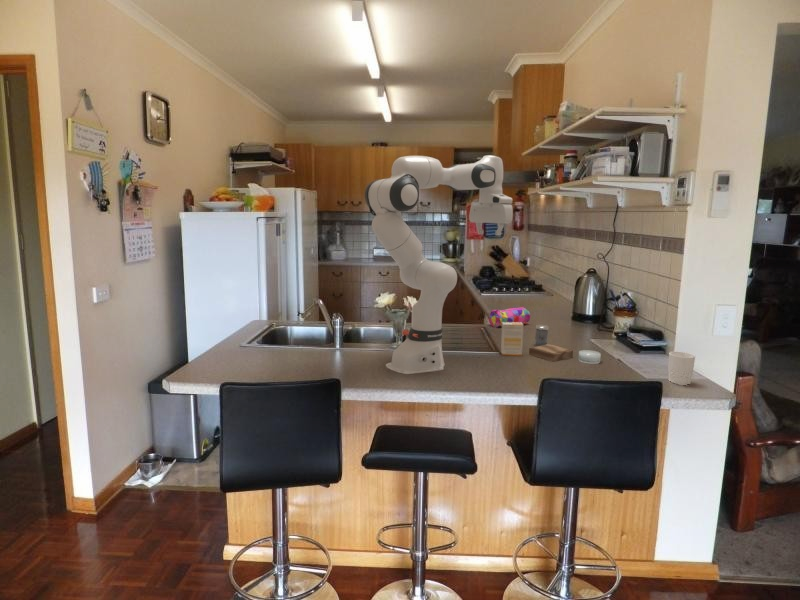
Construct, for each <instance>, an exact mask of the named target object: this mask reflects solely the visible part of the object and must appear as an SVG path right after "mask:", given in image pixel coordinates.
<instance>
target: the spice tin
mask: <svg viewBox="0 0 800 600" xmlns="http://www.w3.org/2000/svg"><path fill="white" fill-rule="evenodd" d="M549 327H550V326H549V325H545V324H536V325H535V341H534V347H537V346H542V345H546V344H548V338H549V336H548V335H549V329H550V328H549Z"/></svg>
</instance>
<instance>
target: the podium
mask: <svg viewBox="0 0 800 600" xmlns="http://www.w3.org/2000/svg"><path fill="white" fill-rule="evenodd" d="M528 350H529V351H528V355H529V356H531V357H536V358H539V359H543V360H545V361H546V360H547V361H550V362H554V363H555V362H558V361H563V360H567V359H571V358H573V355H574V350H573V349H569V348H565V347H562V346H557V345H553V344H549V343H547V344H546V345H542V346H537V347H536V346H534V347H529V348H528Z"/></svg>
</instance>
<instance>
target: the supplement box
mask: <svg viewBox="0 0 800 600" xmlns="http://www.w3.org/2000/svg"><path fill="white" fill-rule="evenodd" d="M500 338H501V339H500V353H501V355H503V356H523V346H524V345H523V344H524V343H523V342H524V324H522V322H502V326H501V337H500Z"/></svg>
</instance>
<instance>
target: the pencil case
mask: <svg viewBox="0 0 800 600" xmlns="http://www.w3.org/2000/svg"><path fill="white" fill-rule="evenodd" d="M530 320H531V313H530V311H529V310H528V309H526V307H522V306H521V307H514V308H513V307H511V308H506V309H492V310H491V311H490V312H489V317H488V322H489V324H490V326H491V327H494V328H498V327H502V322H522V324H523V325H524V324H528V323H529V322H530Z"/></svg>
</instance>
